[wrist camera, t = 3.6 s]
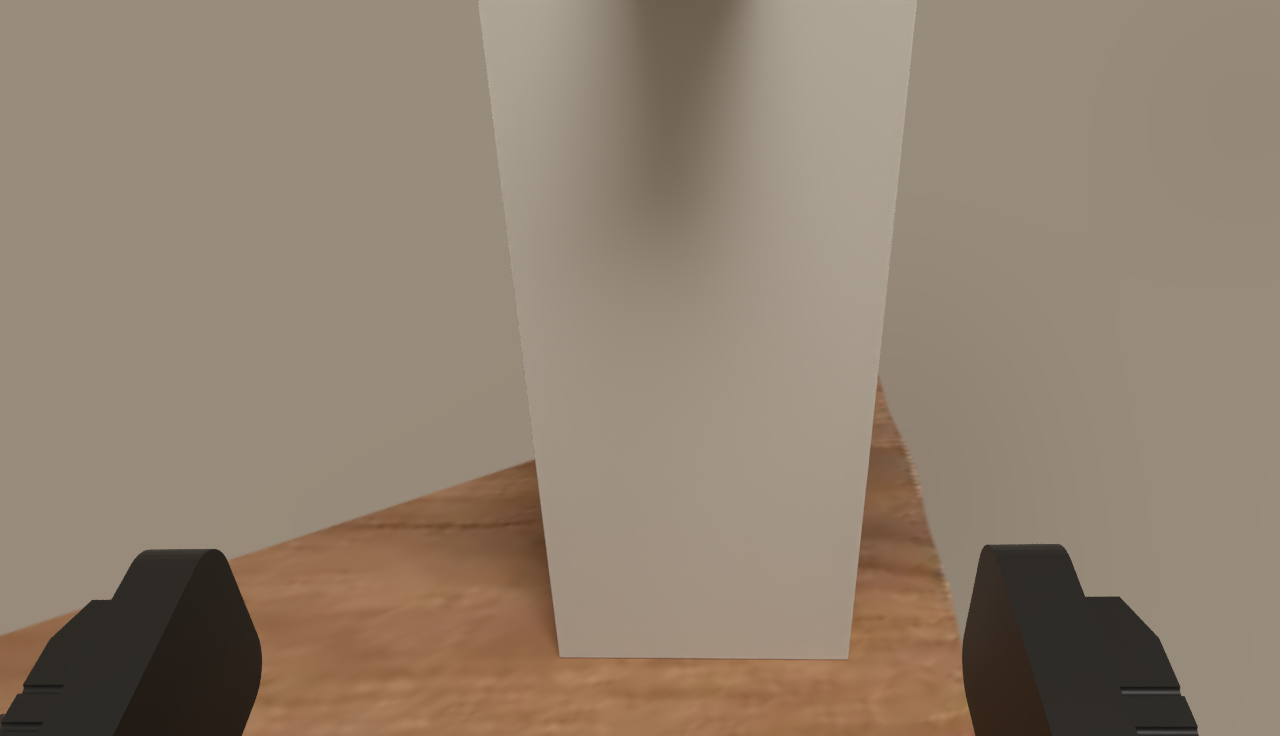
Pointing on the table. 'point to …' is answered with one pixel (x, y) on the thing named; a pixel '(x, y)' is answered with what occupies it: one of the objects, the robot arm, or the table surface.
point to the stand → (700, 306)
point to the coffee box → (1, 719)
